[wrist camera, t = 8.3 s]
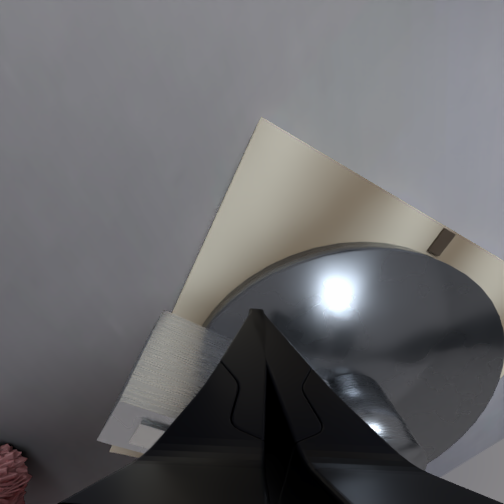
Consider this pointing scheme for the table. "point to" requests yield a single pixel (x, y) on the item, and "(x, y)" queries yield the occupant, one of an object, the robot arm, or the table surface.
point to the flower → (12, 476)
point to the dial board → (311, 224)
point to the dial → (340, 345)
